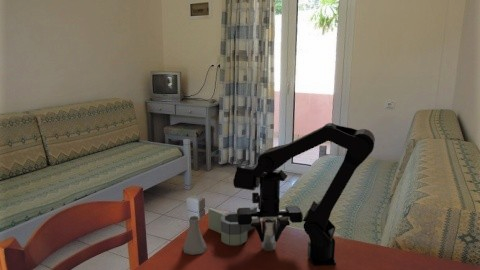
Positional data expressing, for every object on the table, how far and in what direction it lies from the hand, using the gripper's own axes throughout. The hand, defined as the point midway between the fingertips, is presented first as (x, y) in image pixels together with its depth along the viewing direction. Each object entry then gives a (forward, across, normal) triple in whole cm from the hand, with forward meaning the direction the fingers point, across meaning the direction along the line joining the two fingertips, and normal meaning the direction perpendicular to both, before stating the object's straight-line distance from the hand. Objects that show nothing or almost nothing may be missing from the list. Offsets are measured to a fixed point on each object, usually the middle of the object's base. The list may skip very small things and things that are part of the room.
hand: (268, 241), depth 105 cm
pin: (+2, 0, 0) cm, 2 cm away
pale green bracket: (+2, +12, -8) cm, 15 cm away
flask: (+2, +22, -1) cm, 22 cm away
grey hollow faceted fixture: (+2, +8, -8) cm, 12 cm away
